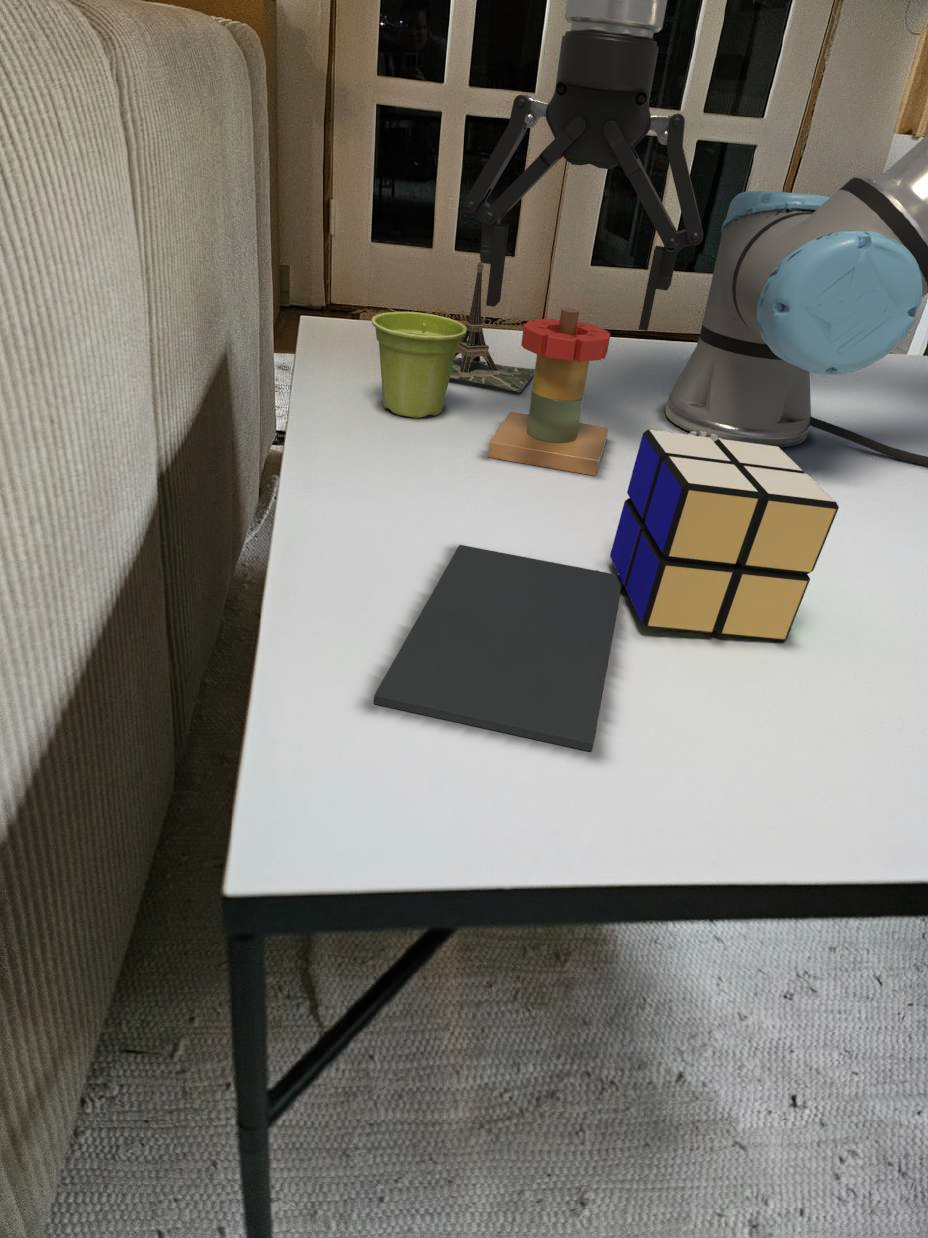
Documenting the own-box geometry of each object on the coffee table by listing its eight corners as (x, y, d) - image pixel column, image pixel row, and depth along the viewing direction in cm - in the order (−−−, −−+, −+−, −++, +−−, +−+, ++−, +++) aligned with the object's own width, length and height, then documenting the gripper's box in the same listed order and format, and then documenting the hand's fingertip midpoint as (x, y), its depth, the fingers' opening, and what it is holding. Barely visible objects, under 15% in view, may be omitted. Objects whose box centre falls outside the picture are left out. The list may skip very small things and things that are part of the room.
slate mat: (621, 582, 65) (623, 575, 64) (591, 752, 48) (593, 743, 47) (458, 551, 66) (459, 544, 66) (373, 704, 49) (373, 695, 49)
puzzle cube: (607, 557, 66) (642, 426, 61) (736, 572, 68) (780, 445, 63) (641, 629, 58) (685, 484, 53) (787, 644, 59) (844, 504, 54)
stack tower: (605, 441, 91) (630, 307, 84) (595, 476, 82) (622, 329, 76) (508, 425, 92) (524, 291, 86) (487, 457, 84) (504, 312, 77)
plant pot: (462, 401, 98) (471, 318, 93) (453, 429, 89) (461, 340, 85) (376, 390, 98) (381, 307, 93) (359, 417, 90) (363, 327, 85)
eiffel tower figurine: (392, 373, 104) (399, 249, 97) (419, 353, 113) (427, 238, 106) (519, 395, 101) (536, 269, 94) (537, 373, 110) (553, 256, 103)
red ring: (609, 346, 85) (613, 326, 84) (601, 366, 79) (605, 345, 78) (530, 334, 86) (532, 314, 85) (515, 352, 80) (518, 331, 79)
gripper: (773, 53, 71) (708, 328, 82) (465, 19, 75) (442, 286, 86) (779, 47, 65) (708, 346, 76) (443, 10, 69) (421, 301, 79)
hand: (567, 315), depth 81 cm, fingers open, 13 cm apart
